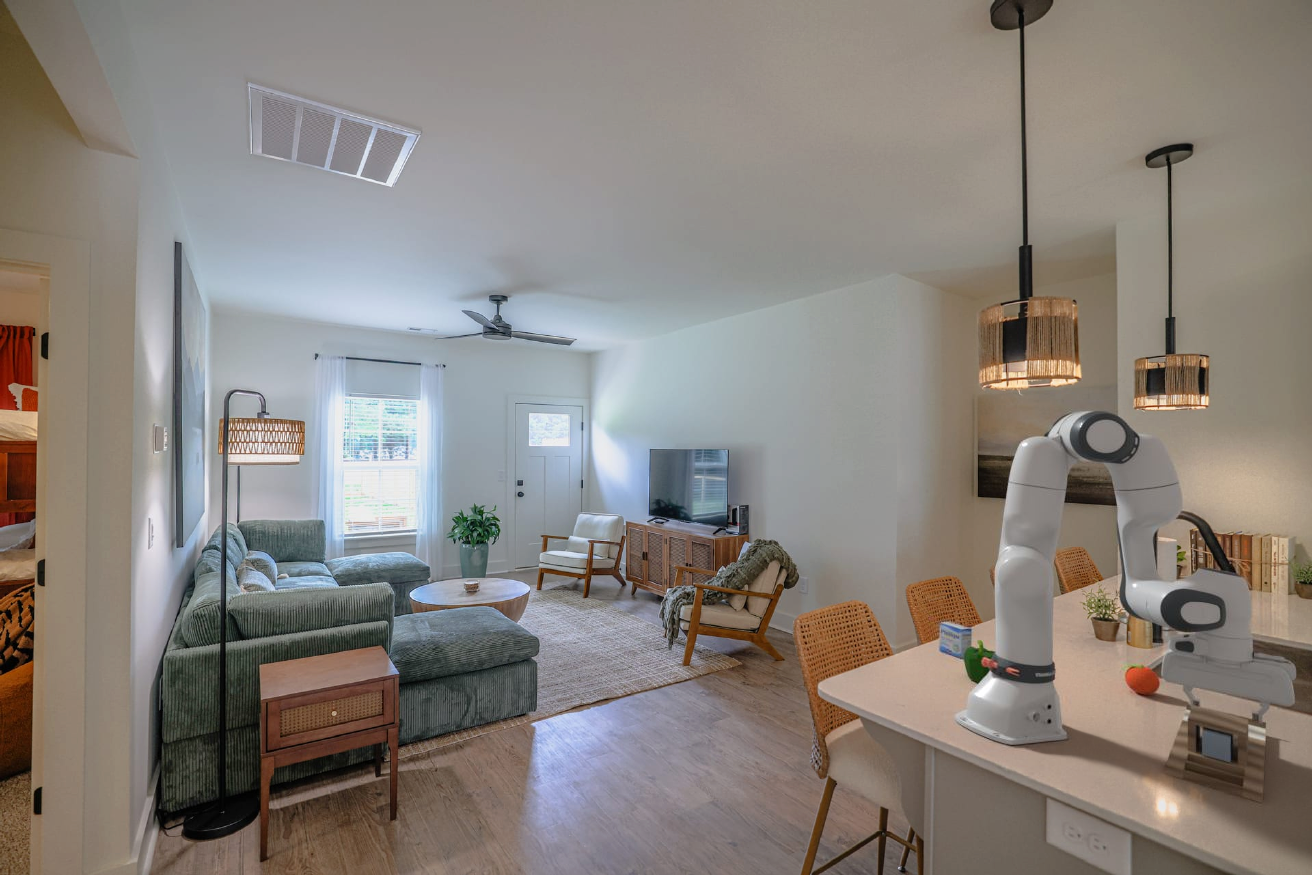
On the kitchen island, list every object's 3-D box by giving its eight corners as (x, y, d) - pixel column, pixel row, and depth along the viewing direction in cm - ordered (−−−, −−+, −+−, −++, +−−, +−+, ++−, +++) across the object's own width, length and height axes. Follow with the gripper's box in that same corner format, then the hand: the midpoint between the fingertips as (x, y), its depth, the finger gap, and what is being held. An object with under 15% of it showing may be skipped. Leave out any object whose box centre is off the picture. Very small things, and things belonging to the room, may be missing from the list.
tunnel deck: (1262, 802, 106) (1262, 757, 106) (1165, 773, 115) (1165, 731, 115) (1265, 735, 132) (1265, 698, 132) (1186, 715, 141) (1186, 681, 142)
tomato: (1122, 694, 154) (1122, 666, 154) (1117, 685, 160) (1117, 658, 160) (1163, 701, 150) (1163, 671, 150) (1155, 691, 156) (1155, 663, 156)
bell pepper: (996, 689, 155) (996, 649, 156) (961, 681, 160) (961, 642, 161) (1001, 679, 162) (1002, 641, 162) (967, 672, 167) (967, 635, 167)
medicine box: (938, 650, 185) (939, 622, 186) (949, 649, 187) (949, 620, 187) (961, 659, 178) (961, 629, 178) (971, 657, 180) (972, 627, 180)
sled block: (1230, 762, 116) (1230, 738, 116) (1202, 754, 119) (1202, 731, 119) (1234, 736, 127) (1234, 714, 127) (1208, 729, 130) (1208, 708, 130)
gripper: (1295, 655, 122) (1298, 725, 121) (1163, 634, 137) (1165, 696, 136) (1295, 662, 118) (1298, 735, 117) (1159, 639, 132) (1160, 704, 132)
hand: (1225, 714), depth 127 cm, fingers open, 8 cm apart
